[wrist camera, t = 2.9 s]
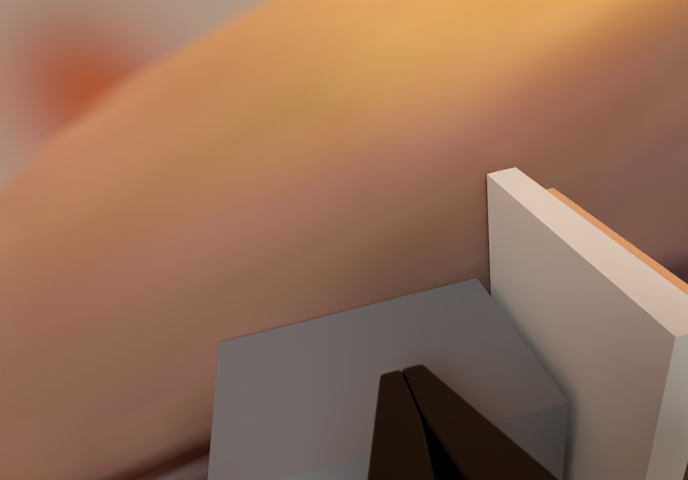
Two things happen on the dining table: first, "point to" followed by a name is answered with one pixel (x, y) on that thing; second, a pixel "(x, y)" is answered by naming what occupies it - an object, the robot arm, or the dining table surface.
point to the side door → (594, 330)
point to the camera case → (373, 385)
